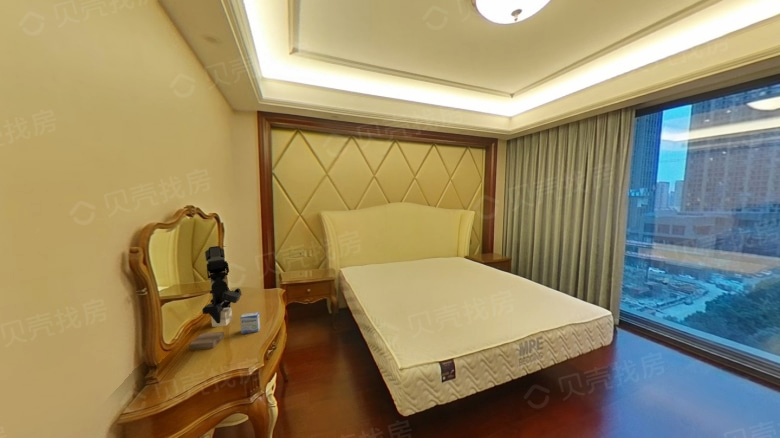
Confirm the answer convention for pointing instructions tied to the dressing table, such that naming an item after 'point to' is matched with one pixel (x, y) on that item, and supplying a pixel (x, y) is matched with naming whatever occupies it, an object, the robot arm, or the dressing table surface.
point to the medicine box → (250, 322)
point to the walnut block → (207, 340)
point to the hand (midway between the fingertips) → (222, 319)
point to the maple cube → (223, 318)
